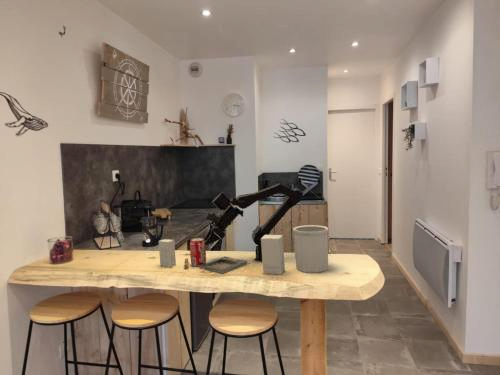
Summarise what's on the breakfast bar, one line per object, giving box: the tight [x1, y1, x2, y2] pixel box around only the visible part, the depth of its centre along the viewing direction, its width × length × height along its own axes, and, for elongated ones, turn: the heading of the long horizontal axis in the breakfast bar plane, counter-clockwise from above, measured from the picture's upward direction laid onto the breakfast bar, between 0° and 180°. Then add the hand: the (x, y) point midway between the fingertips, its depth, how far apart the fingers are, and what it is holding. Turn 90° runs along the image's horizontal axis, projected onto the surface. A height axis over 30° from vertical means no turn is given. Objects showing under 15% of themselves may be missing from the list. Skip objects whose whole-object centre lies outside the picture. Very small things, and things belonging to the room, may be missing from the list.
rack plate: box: [199, 256, 248, 275], centre depth 164 cm, size 14×16×2 cm
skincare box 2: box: [261, 234, 286, 276], centre depth 153 cm, size 8×7×16 cm
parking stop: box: [183, 257, 189, 270], centre depth 167 cm, size 10×2×2 cm, turn 8°
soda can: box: [189, 237, 207, 267], centre depth 167 cm, size 7×7×12 cm
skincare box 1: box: [158, 238, 177, 268], centre depth 168 cm, size 6×4×12 cm
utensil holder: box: [292, 224, 329, 274], centre depth 157 cm, size 15×15×18 cm
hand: (205, 242), depth 167 cm, fingers open, 9 cm apart
